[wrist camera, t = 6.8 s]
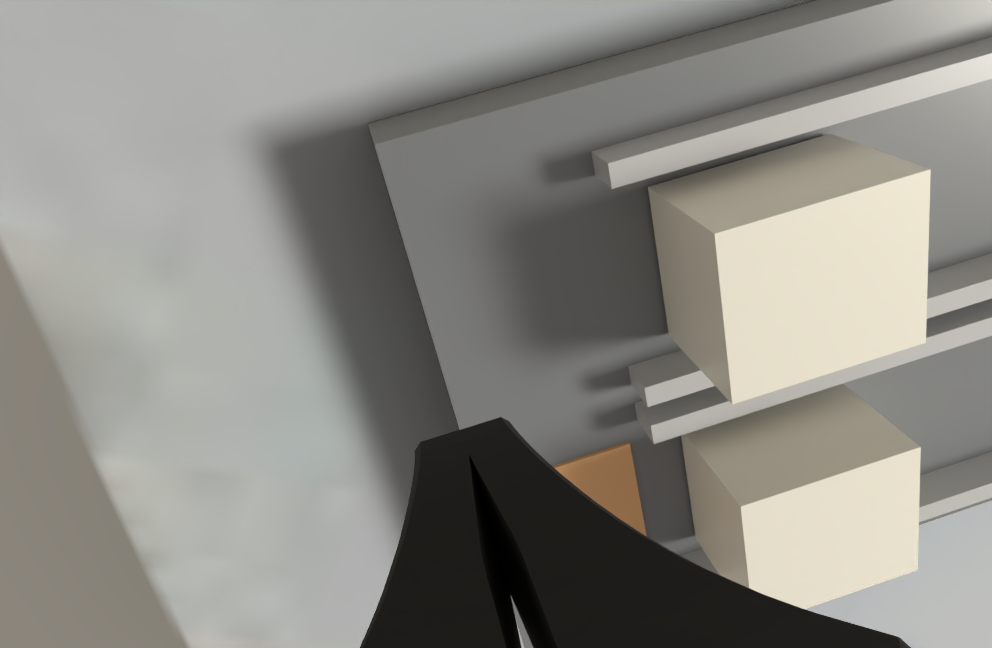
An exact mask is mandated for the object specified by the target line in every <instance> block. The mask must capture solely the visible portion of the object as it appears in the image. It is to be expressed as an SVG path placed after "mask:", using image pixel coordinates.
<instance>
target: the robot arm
mask: <svg viewBox="0 0 992 648" xmlns="http://www.w3.org/2000/svg"><path fill="white" fill-rule="evenodd" d="M511 597H512V599H513V601H514V604H515V606H516V608H517V611H518V613H519V615H520V618H521V620H522V622H523V625H524V627H525V629H526V632H527V634H528V637H529V639H530V641H531V644H532V646H533V648H911V647H909V646H908V645H907V644H906V643H905V642H904V641H903V640H902V639H901V638H899V637H896V636H893V635H889V634H886V633H882V632H879V631H876V630H872V629H869V628H865V627H862V626H858V625H855V624H851V623H848V622H844V621H841V620H838V619H834V618H831V617H827V616H824V615H820V614H817V613H814V612H811V611H808V610H805V609H802V608H799V607H796V606H794V605H791V604H788V603H786V602H783V601H780V600H777V599H775V598H772V597H769V596H766V595H764V594H761V593H759V592H757V591H754V590H752V589H750V588H748V587H745V586H743V585H741V584H739V583H736V582H734V581H732V580H730V579H727V578H725V577H723V576H721V575H718V574H716V573H714V572H712V571H709V570H707V569H705V568H703V567H701V566H699V565H697V564H695V563H693V562H692V561H690V560H688V559H686V558H684V557H682V556H680V555H678V554H676V553H675V552H673V551H671V550H669V549H667V548H666V547H664V546H662V545H661V544H659V543H657V542H655V541H654V540H652V539H650V538H649V537H647V536H645V535H644V534H642V533H640V532H639V531H637V530H636V529H634V528H633V527H631V526H630V525H628V524H627V523H625V522H624V521H622V520H621V519H619V518H618V517H616V516H615V515H613V514H612V513H611V512H609V511H608V510H606V509H605V508H604V507H602V506H601V505H599V504H598V503H597V502H595V501H594V500H593V499H591V498H590V497H589V496H588V495H586V494H585V493H584V492H582V491H581V490H580V489H579V488H577V487H576V486H575V485H574V484H573V483H571V482H570V481H569V480H568V479H567V478H565V477H564V476H563V475H562V474H561V473H559V472H558V471H557V470H556V469H555V468H554V467H553V466H551V465H550V464H549V463H548V462H547V461H546V460H545V459H544V458H543V457H542V456H541V455H540V454H539V453H538V452H537V451H535V450H534V449H533V448H532V447H531V446H530V445H529V443H528V442H527V441H526V440H525V439H524V438H523V437H522V436H521V435H520V434H519V433H518V431H517V430H516V429H515V428H514V427H513V425H512V424H511V422H510V421H508V420H506V419H504V418H502V417H499V418H496V419H493V420H490V421H486V422H483V423H480V424H477V425H474V426H471V427H467V428H464V429H461V430H458V431H455V432H451V433H448V434H445V435H442V436H439V437H435V438H432V439H429V440H426V441H423V442H420V444H419V446H418V447H417V449H416V450H415V467H414V476H413V482H412V488H411V494H410V499H409V504H408V508H407V512H406V516H405V520H404V524H403V528H402V533H401V537H400V540H399V544H398V547H397V551H396V554H395V557H394V560H393V563H392V566H391V569H390V572H389V575H388V578H387V581H386V584H385V587H384V590H383V593H382V596H381V598H380V601H379V603H378V606H377V609H376V611H375V614H374V616H373V619H372V621H371V623H370V626H369V628H368V630H367V633H366V635H365V637H364V639H363V642H362V644H361V646H360V648H521V644H520V639H519V634H518V629H517V624H516V619H515V614H514V609H513V604H512V599H511Z"/></svg>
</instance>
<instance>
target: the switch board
mask: <svg viewBox="0 0 992 648" xmlns="http://www.w3.org/2000/svg"><path fill="white" fill-rule="evenodd" d="M368 127H369V130H370V133H371V137H372V140H373V143H374V147H375V150H376V153H377V157H378V160H379V163H380V167H381V170H382V173H383V177H384V180H385V183H386V187H387V190H388V193H389V197H390V200H391V204H392V207H393V210H394V214H395V217H396V220H397V224H398V227H399V230H400V234H401V237H402V240H403V244H404V247H405V250H406V254H407V257H408V260H409V264H410V267H411V270H412V274H413V277H414V280H415V284H416V287H417V290H418V294H419V297H420V300H421V304H422V307H423V311H424V314H425V317H426V321H427V324H428V327H429V331H430V334H431V337H432V341H433V344H434V347H435V351H436V354H437V357H438V361H439V364H440V367H441V371H442V374H443V377H444V381H445V384H446V387H447V391H448V394H449V397H450V401H451V404H452V408H453V411H454V414H455V418H456V421H457V424H458V428H459V430H461V429H464V428H467V427H471V426H474V425H477V424H480V423H483V422H486V421H490V420H493V419H496V418H499V417H502V418H504V419H506V420H508V421H510V422H511V424H512V425H513V427H514V428H515V429H516V430H517V431H518V433H519V434H520V435H521V436H522V437H523V438H524V439H525V440H526V441H527V442H528V443H529V445H530V446H531V447H532V448H533V449H534V450H535V451H537V452H538V453H539V454H540V455H541V456H542V457H543V458H544V459H545V460H546V461H547V462H548V463H549V464H550V465H551V466H553V467H554V468H555V469H556V470H557V471H558V472H559V473H561V474H562V475H563V476H564V477H565V478H567V479H568V480H569V481H570V482H571V483H573V484H574V485H575V486H576V487H577V488H579V489H580V490H581V491H582V492H584V493H585V494H586V495H588V496H589V497H590V498H591V499H593V500H594V501H595V502H597V503H598V504H599V505H601V506H602V507H604V508H605V509H606V510H608V511H609V512H611V513H612V514H613V515H615V516H616V517H618V518H619V519H621V520H622V521H624V522H625V523H627V524H628V525H630V526H631V527H633V528H634V529H636V530H637V531H639V532H640V533H642V534H644V535H645V536H647V537H649V538H650V539H652V540H654V541H655V542H657V543H659V544H661V545H662V546H664V547H666V548H667V549H669V550H671V551H673V552H675V553H676V554H678V555H680V556H682V557H684V558H686V559H688V560H690V561H692V562H693V563H695V564H697V565H699V566H701V567H703V568H705V569H707V570H709V571H712V572H714V573H716V574H718V575H719V573H718V572H717V570H716V569H715V567H714V566H713V564H712V563H711V561H710V560H709V558H708V557H707V555H706V553H705V552H704V550H703V549H702V547H701V546H700V544H699V543H698V541H697V540H696V537H695V530H694V523H693V516H692V509H691V502H690V495H689V488H688V481H687V474H686V467H685V460H684V453H683V446H682V439H681V435H684V434H687V433H690V432H693V431H696V430H700V429H703V428H706V427H709V426H712V425H715V424H718V423H721V422H724V421H728V420H731V419H734V418H737V417H740V416H743V415H746V414H749V413H752V412H756V411H759V410H762V409H765V408H768V407H771V406H774V405H777V404H781V403H784V402H787V401H790V400H793V399H796V398H799V397H802V396H805V395H809V394H812V393H815V392H818V391H821V390H824V389H827V388H830V387H833V386H837V385H840V384H844V385H845V386H847V387H848V388H849V389H850V390H852V391H853V392H854V393H855V394H856V395H858V396H859V397H860V398H861V399H863V400H864V401H865V402H866V403H868V404H869V405H870V406H871V407H872V408H874V409H875V410H876V411H877V412H879V413H880V414H881V415H882V416H883V417H885V418H886V419H887V420H888V421H890V422H891V423H892V424H893V425H894V426H896V427H897V428H898V429H899V430H901V431H902V432H903V433H904V434H906V435H907V436H908V437H909V438H910V439H912V440H913V441H914V442H915V443H917V444H918V445H919V446H920V447H921V459H920V497H919V525H920V524H923V523H926V522H929V521H932V520H935V519H938V518H941V517H944V516H947V515H950V514H952V513H955V512H958V511H961V510H964V509H967V508H970V507H973V506H976V505H979V504H982V503H985V502H988V501H991V500H992V0H815V1H811V2H808V3H804V4H800V5H797V6H793V7H789V8H786V9H782V10H779V11H775V12H771V13H768V14H764V15H760V16H757V17H753V18H750V19H746V20H742V21H739V22H735V23H731V24H728V25H724V26H720V27H717V28H713V29H710V30H706V31H702V32H699V33H695V34H691V35H688V36H684V37H680V38H677V39H673V40H670V41H666V42H662V43H659V44H655V45H651V46H648V47H644V48H641V49H637V50H633V51H630V52H626V53H622V54H619V55H615V56H611V57H608V58H604V59H601V60H597V61H593V62H590V63H586V64H582V65H579V66H575V67H571V68H568V69H564V70H561V71H557V72H553V73H550V74H546V75H542V76H539V77H535V78H532V79H528V80H524V81H521V82H517V83H513V84H510V85H506V86H502V87H499V88H495V89H492V90H488V91H484V92H481V93H477V94H473V95H470V96H466V97H462V98H459V99H455V100H452V101H448V102H444V103H441V104H437V105H433V106H430V107H426V108H423V109H419V110H415V111H412V112H408V113H404V114H401V115H397V116H393V117H390V118H386V119H383V120H379V121H375V122H372V123H368ZM828 134H833V135H836V136H839V137H841V138H844V139H847V140H850V141H853V142H855V143H858V144H861V145H864V146H867V147H870V148H872V149H875V150H878V151H881V152H884V153H886V154H889V155H892V156H895V157H898V158H901V159H903V160H906V161H909V162H912V163H915V164H917V165H920V166H923V167H926V168H929V169H931V177H930V213H929V250H928V286H927V322H926V343H923V344H920V345H917V346H914V347H911V348H908V349H905V350H901V351H898V352H895V353H892V354H889V355H886V356H883V357H880V358H876V359H873V360H870V361H867V362H864V363H861V364H858V365H855V366H851V367H848V368H845V369H842V370H839V371H836V372H833V373H829V374H826V375H823V376H820V377H817V378H814V379H811V380H808V381H804V382H801V383H798V384H795V385H792V386H789V387H786V388H783V389H779V390H776V391H773V392H770V393H767V394H764V395H761V396H757V397H754V398H751V399H748V400H745V401H742V402H739V403H736V404H731V402H730V401H729V400H728V399H727V398H726V397H725V396H724V395H723V394H722V393H721V392H720V391H719V390H718V388H717V387H716V386H715V385H714V384H713V383H712V382H711V381H710V380H709V379H708V378H707V377H706V376H705V374H704V373H703V372H702V371H701V370H700V369H699V368H698V367H697V366H696V365H695V364H694V363H693V361H692V360H691V359H690V358H689V357H688V356H687V355H686V354H685V353H684V352H683V351H682V350H681V349H680V347H679V346H678V345H677V344H676V343H675V342H674V341H673V340H672V339H671V338H670V337H669V333H668V326H667V319H666V312H665V304H664V297H663V290H662V283H661V276H660V269H659V262H658V255H657V248H656V241H655V234H654V227H653V220H652V213H651V206H650V199H649V192H648V187H649V186H653V185H656V184H659V183H663V182H666V181H670V180H673V179H677V178H680V177H683V176H687V175H690V174H694V173H697V172H701V171H704V170H707V169H711V168H714V167H718V166H721V165H725V164H728V163H732V162H735V161H738V160H742V159H745V158H749V157H752V156H756V155H759V154H762V153H766V152H769V151H773V150H776V149H780V148H783V147H786V146H790V145H793V144H797V143H800V142H804V141H807V140H810V139H814V138H817V137H821V136H824V135H828ZM511 599H512V597H511ZM512 604H513V609H514V614H515V618H516V621H517V624H518V628H519V631H520V634H521V637H522V641H523V644H524V647H525V648H533V646H532V644H531V641H530V639H529V637H528V634H527V632H526V629H525V627H524V625H523V622H522V620H521V618H520V615H519V613H518V611H517V608H516V606H515V604H514V601H513V599H512Z"/></svg>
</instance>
